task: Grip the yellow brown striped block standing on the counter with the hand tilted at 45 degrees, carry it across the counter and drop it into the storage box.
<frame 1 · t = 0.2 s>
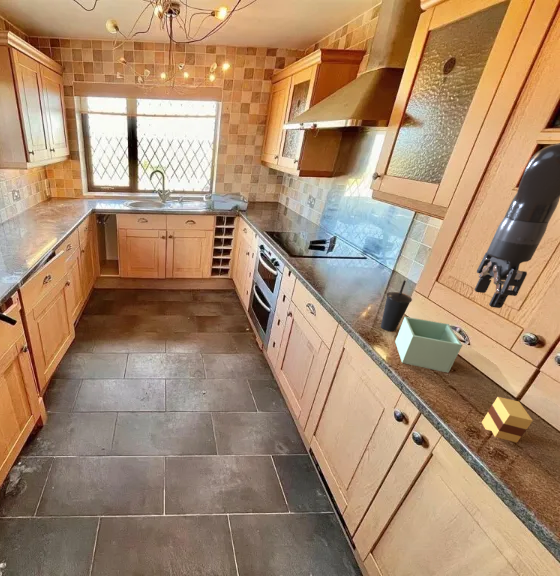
hand: (486, 299, 79), 28 cm above the countertop, tool pointing down, fingers open, 8 cm apart
drinking cup: (387, 328, 117), on the countertop
storage box: (419, 356, 102), on the countertop
yellow brown striped block: (496, 434, 76), on the countertop
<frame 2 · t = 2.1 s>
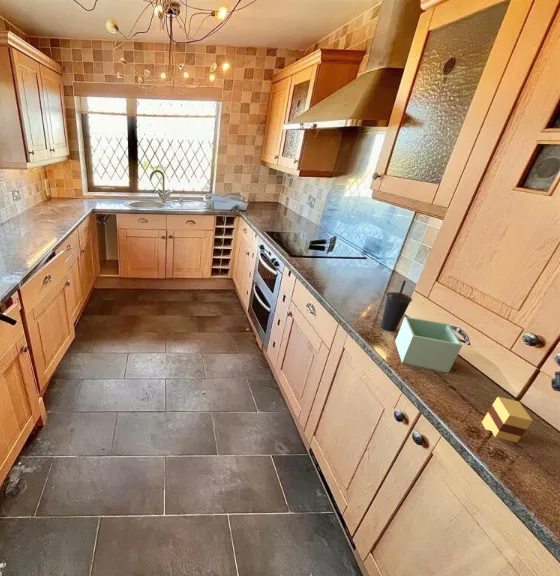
nothing on the countertop moved.
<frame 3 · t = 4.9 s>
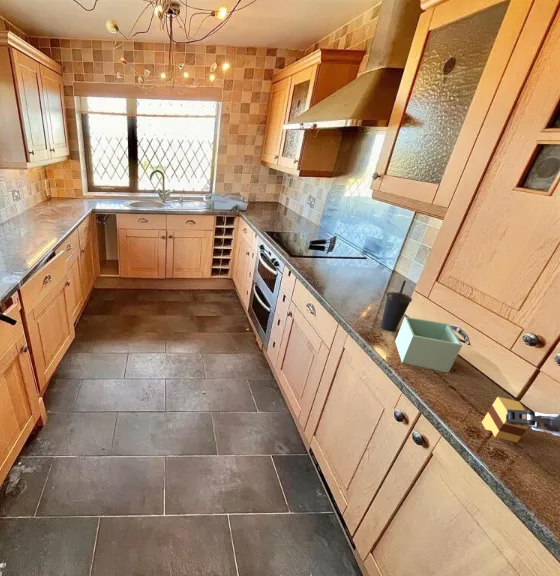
hand: (535, 425, 65), 11 cm above the countertop, tool tilted 45°, fingers open, 8 cm apart
nothing on the countertop moved.
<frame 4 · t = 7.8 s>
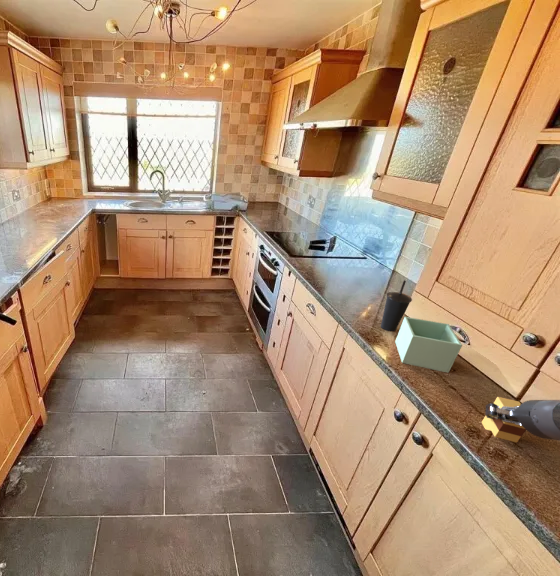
hand: (500, 416, 75), 4 cm above the countertop, tool tilted 45°, fingers closed on yellow brown striped block, 4 cm apart
yellow brown striped block: (496, 434, 76), on the countertop, touching gripper
everything else where it was.
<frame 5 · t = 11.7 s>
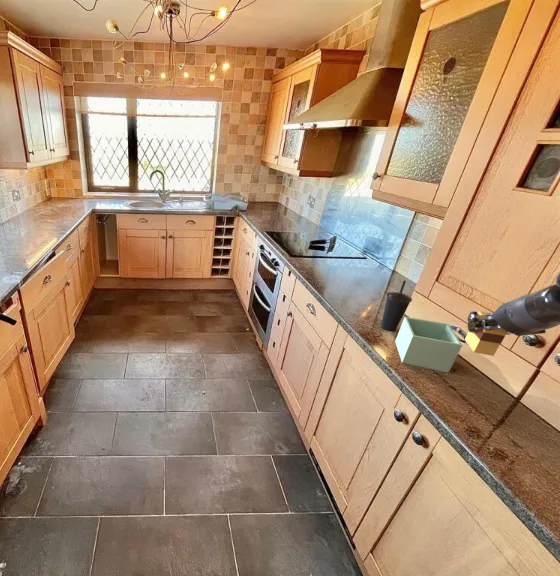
hand: (482, 330, 81), 20 cm above the countertop, tool tilted 45°, fingers closed on yellow brown striped block, 4 cm apart
yellow brown striped block: (478, 347, 81), point 16 cm above the countertop, touching gripper
everything else where it was.
when the fingers open (12 cm above the countertop, at t = 16.1 s): yellow brown striped block drops 7 cm, resting on storage box.
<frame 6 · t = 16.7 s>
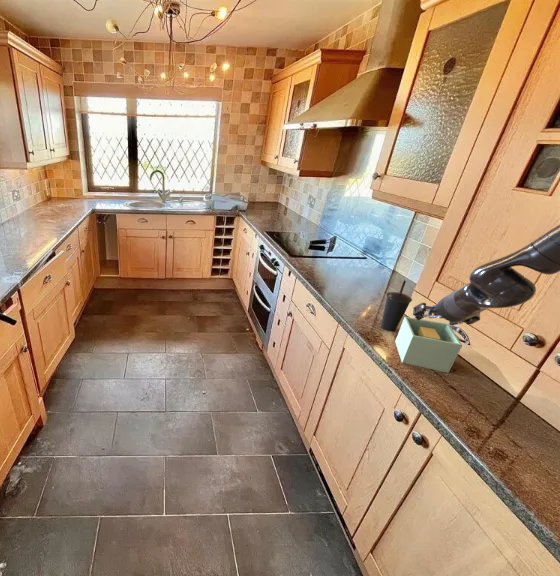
hand: (433, 319, 97), 14 cm above the countertop, tool tilted 45°, fingers open, 8 cm apart
yellow brown striped block: (420, 354, 102), point 1 cm above the countertop, touching storage box
everything else where it was.
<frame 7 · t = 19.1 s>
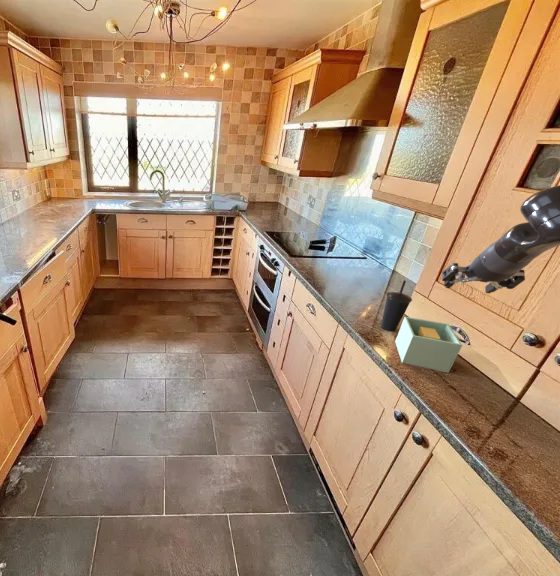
hand: (466, 287, 84), 29 cm above the countertop, tool tilted 40°, fingers open, 8 cm apart
nothing on the countertop moved.
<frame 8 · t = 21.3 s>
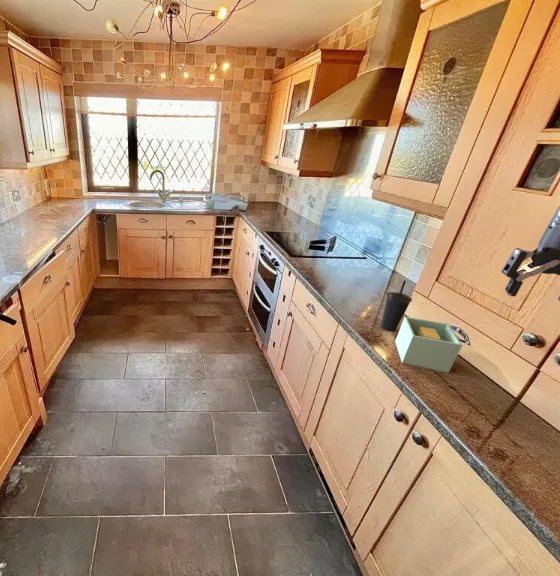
hand: (535, 298, 67), 34 cm above the countertop, tool pointing down, fingers open, 8 cm apart
nothing on the countertop moved.
at the end: yellow brown striped block inside the target area in the storage box (0.1 cm from its centre), point 0.6 cm above the storage box's base; the gripper is holding nothing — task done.
